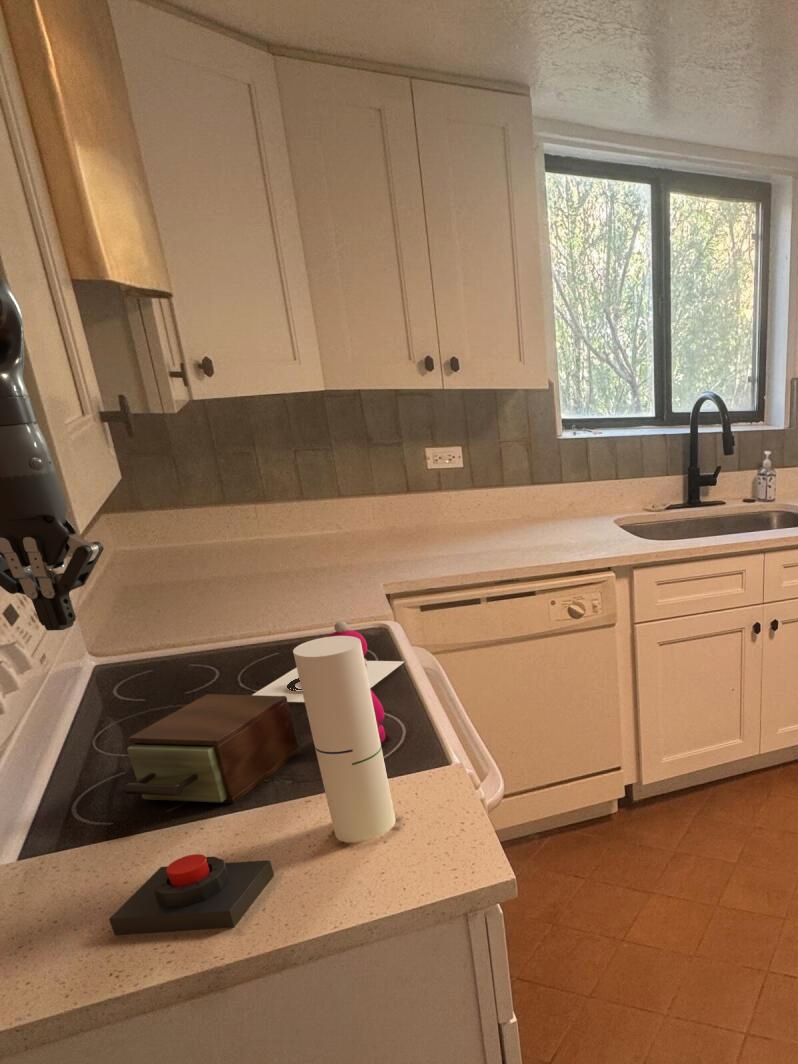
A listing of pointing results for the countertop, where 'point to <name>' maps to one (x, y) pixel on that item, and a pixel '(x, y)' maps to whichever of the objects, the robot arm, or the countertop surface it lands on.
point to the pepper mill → (378, 708)
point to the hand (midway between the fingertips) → (60, 628)
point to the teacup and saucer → (279, 688)
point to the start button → (188, 870)
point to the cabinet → (232, 736)
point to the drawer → (176, 773)
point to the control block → (193, 899)
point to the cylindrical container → (345, 736)
